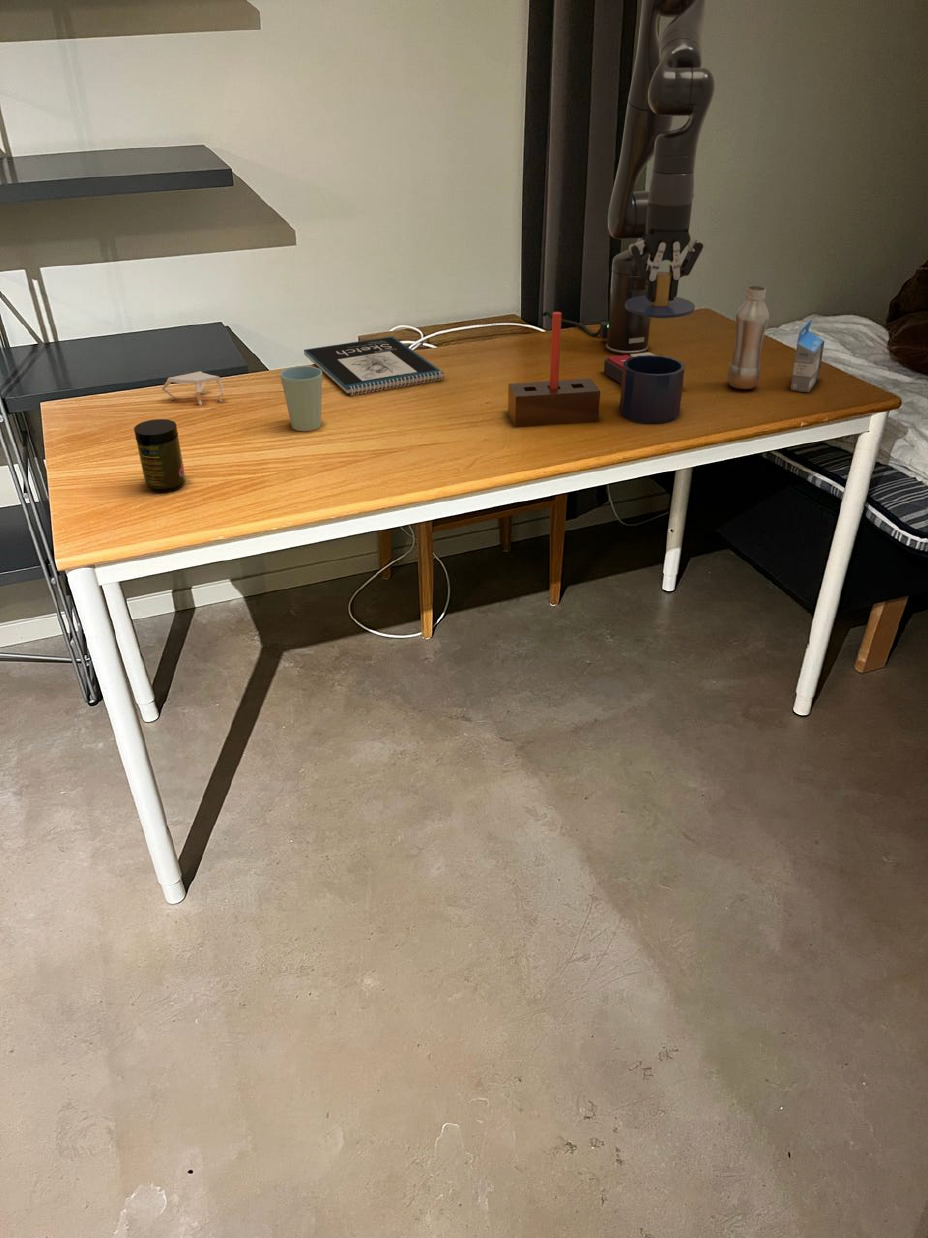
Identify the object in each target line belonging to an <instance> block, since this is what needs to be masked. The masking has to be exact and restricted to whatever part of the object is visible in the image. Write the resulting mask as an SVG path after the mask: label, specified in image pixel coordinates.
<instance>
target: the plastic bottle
mask: <svg viewBox="0 0 928 1238" xmlns="http://www.w3.org/2000/svg"><path fill="white" fill-rule="evenodd" d="M766 293H767V288H766V287H765V286H761V285H749V286H747V288H746V293H745V299H746V300H745V301H744V302H743V303H742V304H741V305H740V307H739V308H738V309H737V312H736V314H735V342H734V348H733V353H732V357H731V361H730V364H729V367H728V370H727V382H728V384H729V386H730V387H732V388H734V389H738V390H750V389H751V390H752V389H754V388H755V387H756V386H757V385H758V383H759V381H760V378H761V357H762V356H761V354H762V353H761V352H762V346H763V342H764V336H765V333H766V330H767V327H768V323H769V320H770V311H769V309H768V307H767V305H766V303H765V300H766Z"/></svg>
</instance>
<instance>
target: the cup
mask: <svg viewBox="0 0 928 1238" xmlns="http://www.w3.org/2000/svg"><path fill="white" fill-rule="evenodd" d="M279 377H280V380H281V385H282V389H283V393H284V398H285V399H284V400H285V402H286V407H287V412H288V417H289V420H290V426H291V427H292V429H293V430H295V431H299V432H312V431H315V430H317V429H319V428H320V427H321V426H322V396H323V395H322V394H323V392H322V390H323V371H322V370H321V369H320V368H318V367H317V366H316V367H315V366H311V365H299V366H298V365H297V366H292V367H288V368H285V369H283V370H282V371H281V372H280V373H279Z"/></svg>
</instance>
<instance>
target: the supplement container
mask: <svg viewBox="0 0 928 1238" xmlns="http://www.w3.org/2000/svg"><path fill="white" fill-rule="evenodd" d="M133 432H134V437H135V441H136V445H137V450H138V456H139V460H140V465H141V470H142V475H143V480H144V485H145V486H146V488H147V490H150V491H152V492H154V493H170V492H174V491H177V490H179V489H181V488H182V487H183V486H184V485H185V483H186V482H187V481H186V480H187V478H186V473H185V467H184V461H183V456H182V451H181V450H182V449H181V445H180V438H179V431H178V425H177V423H176V422H175V421H174V420H172V419H167V418H166V419H165V418H157V419H149V420H146V421H142V422H140V423H138V424H136V425H135V426H134V427H133Z"/></svg>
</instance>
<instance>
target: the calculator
mask: <svg viewBox="0 0 928 1238" xmlns="http://www.w3.org/2000/svg"><path fill="white" fill-rule="evenodd" d="M643 355H655V354H654V353H652V352H650V351H648V352H647V351H646V352H644V353H638V354H631V355H624V354H621V355H614V356H607V358H606V359H604V361H603V362H604V364H603V365H604V366H603V374H604V375H606V376H608V377H609V378H611V379H612V380H614V381H616V382H617V383H619V384H620V385H622V372H623V364H624V361H625V360H627V359H629V358H631V357H636V356H643ZM684 377H685V376H684ZM684 377H683V379H684ZM683 387H684V385H683V386H682V390H683Z"/></svg>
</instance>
